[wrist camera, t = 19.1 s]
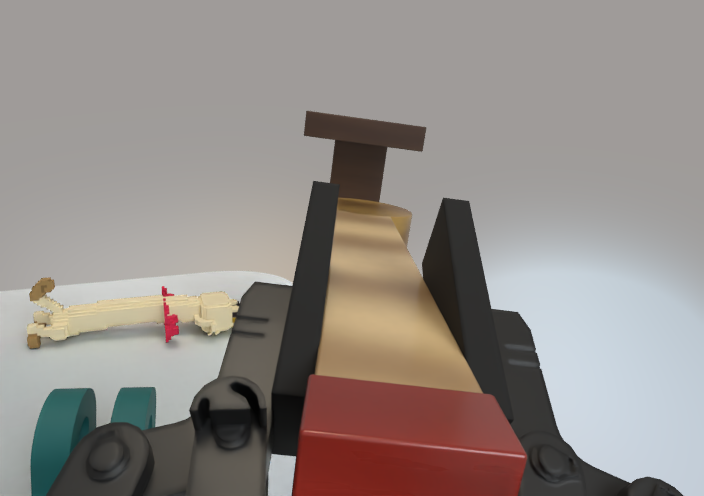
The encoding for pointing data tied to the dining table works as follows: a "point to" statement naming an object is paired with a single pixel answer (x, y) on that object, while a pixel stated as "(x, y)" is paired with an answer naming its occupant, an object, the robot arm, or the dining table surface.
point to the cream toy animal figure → (129, 313)
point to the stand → (361, 150)
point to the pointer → (394, 381)
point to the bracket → (79, 426)
